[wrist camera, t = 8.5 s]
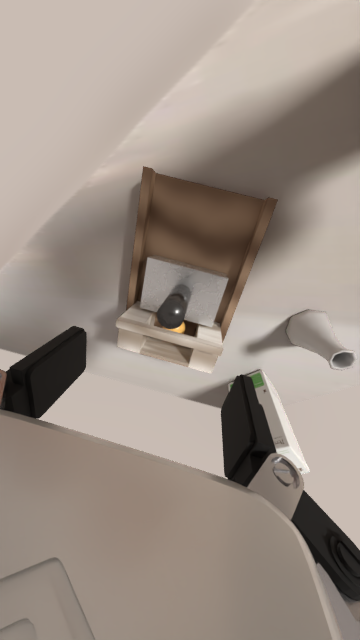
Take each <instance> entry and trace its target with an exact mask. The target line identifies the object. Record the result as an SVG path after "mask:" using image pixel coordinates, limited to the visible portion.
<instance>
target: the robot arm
mask: <svg viewBox="0 0 360 640" xmlns="http://www.w3.org/2000/svg"><path fill="white" fill-rule="evenodd" d="M85 368H86V332H84V329H83V328H79V327H76V326H72V327H71V328H69V329H68V330H66V331H65V332H63V333H62V334H60V335H58V336H57V337H55V338H54V339H52V340H51V341H49V342H48V343H46V344H45V345H43V346H42V347H40V348H39V349H37V350H35V351H34V352H32V353H31V354H29V355H28V356H26V357H25V358H23V359H22V360H20V361H19V362H17V363H15V364H14V365H12V366H11V367H10V369H9V370H8V371H6V372H5V371H3V370H1V369H0V640H360V550H359V549H358V548H357V547H356V545H355V544H354V543H353V542H352V541H351V540H350V539H349V538H348V536H346V534H345V533H344V532H343V531H342V530H341V529H340V528H339V527H338V526H337V525H336V524H335V523H334V522H333V521H332V520H331V519H330V518H329V516H328V515H327V514H326V513H325V512H324V511H323V510H322V509H321V508H320V507H319V506H318V505H317V504H316V503H315V501H314V500H313V499H312V498H311V497H310V496H309V495H308V494H307V493H306V492H305V491H304V490H303V489H304V482H303V478H302V476H301V473H300V471H299V470H298V468H297V467H296V466H295V465H294V464H293V462H292V461H291V460H289V459H288V458H287V457H285V456H283V455H281V454H278V453H277V451H276V448H275V445H274V441H273V438H272V435H271V432H270V428H269V425H268V422H267V418H266V415H265V412H264V409H263V406H262V405H261V404H259V401H258V398H257V394H256V391H255V387H254V384H253V380H252V378H251V377H249V376H246V375H242V374H241V375H240V376H237V377H236V379H235V381H234V383H233V385H232V387H231V389H230V391H229V393H228V395H227V397H226V400H225V402H224V404H223V406H222V409H221V421H222V438H223V456H224V473H225V477H227V478H228V479H225V478H223V477H219V476H216V475H213V474H211V473H207V472H205V471H202V470H199V469H196V468H192V467H189V466H187V465H183V464H180V463H177V462H174V461H171V460H168V459H165V458H161V457H158V456H155V455H152V454H149V453H146V452H143V451H139V450H136V449H133V448H130V447H126V446H123V445H120V444H116V443H113V442H110V441H107V440H104V439H101V438H97V437H94V436H91V435H88V434H84V433H81V432H78V431H75V430H71V429H68V428H64V427H61V426H58V425H55V424H52V423H48V422H45V421H42V420H38V419H36V418H40V417H41V416H42V415H43V414H44V413H45V412H46V411H47V410H48V409H49V408H50V407H51V406H52V405H53V404H54V402H55V401H56V400H57V399H58V398H59V397H60V396H61V395H62V394H63V393H64V392H65V391H66V390H67V389H68V388H69V386H70V385H71V384H72V383H73V382H74V381H75V380H76V379H77V378H78V377H79V376H80V375H81V374H82V373H83V372H84V370H85Z"/></svg>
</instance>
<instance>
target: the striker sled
mask: <svg viewBox="0 0 360 640" xmlns="http://www.w3.org/2000/svg"><path fill="white" fill-rule="evenodd" d="M228 279H229V278H228V276H227V274H225V273H221V272H218V271H214V270H210V269H206V268H203V267H199V266H195V265H191V264H187V263H184V262H180V261H176V260H172V259H168V258H165V257H161V256H157V255H153V256H150V257H148V258H147V264H146V271H145V277H144V284H143V290H142V297H141V304H140V308H143V309H147V310H150V311H154V312H157V319H158V322H159V323H160V324H161V325H162V326H163V327H165V328H167V329H175V328H178V327H179V326H181V324H182V323H183V321H184V320H187V321H190V322H194V323H198V324H201V325H205V326H209V327H212V326H213V323H214V320H215V317H216V314H217V311H218V308H219V305H220V302H221V299H222V296H223V294H224V291H225V288H226V285H227V282H228Z"/></svg>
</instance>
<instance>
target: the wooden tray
mask: <svg viewBox="0 0 360 640" xmlns="http://www.w3.org/2000/svg"><path fill="white" fill-rule="evenodd" d="M277 201H278V200H277V199H273V198H267V199H266V200H262V199H258V198H254V197H250V196H246V195H242V194H238V193H234V192H230V191H226V190H222V189H218V188H214V187H209V186H205V185H201V184H197V183H193V182H189V181H185V180H181V179H177V178H173V177H169V176H165V175H161V174H157V173H155V171H154V170H153V169H152V168H148V167H144V166H143V173H142V181H141V190H140V198H139V207H138V215H137V223H136V232H135V240H134V249H133V257H132V265H131V274H130V282H129V291H128V299H127V307H126V312H125V313H124V314H122V315H121V316H120V317H119V318H118V319H117V320H116V327H118V328H119V332H118V341H117V347H119V348H122V349H126V350H129V351H133V352H136V353H140V354H143V355H147V356H150V357H154V358H158V359H161V360H165V361H168V362H172V363H175V364H179V365H182V366H186V367H189V368H193V369H196V370H200V371H203V372H207V373H211V374H212V371H213V368H214V366H215V363H216V361H217V358H218V356H221V354H222V351H223V344H222V343H223V340H224V338H225V335H226V333H227V330H228V327H229V325H230V322H231V320H232V317H233V314H234V312H235V309H236V307H237V304H238V302H239V299H240V296H241V294H242V291H243V289H244V286H245V283H246V281H247V278H248V276H249V273H250V271H251V268H252V265H253V263H254V260H255V258H256V255H257V252H258V250H259V247H260V245H261V242H262V240H263V237H264V234H265V232H266V229H267V227H268V224H269V221H270V219H271V216H272V214H273V211H274V209H275V206H276V203H277ZM153 255H157V256H161V257H165V258H168V259H172V260H176V261H180V262H184V263H187V264H191V265H195V266H199V267H203V268H206V269H210V270H214V271H218V272H221V273H225V274H227V276H228V278H229V279H228V282H227V285H226V288H225V291H224V294H223V296H222V299H221V302H220V305H219V308H218V311H217V314H216V317H215V320H214V323H213V326H212V327H209V326H205V325H201V324H198V323H194V322H190V321H187V320H184V321H183V322H184V324H185V331H184V334H181V333H178V332H174V331H171V330H167V329H163V326H162V325H161V324H160V323H159V322H158V319H157V312H154V311H150V310H147V309H143V308H140V304H141V297H142V290H143V284H144V277H145V271H146V264H147V258H148V257H150V256H153Z"/></svg>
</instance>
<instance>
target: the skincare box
mask: <svg viewBox="0 0 360 640" xmlns="http://www.w3.org/2000/svg"><path fill="white" fill-rule="evenodd" d="M247 376H249V377H251V378H252V380H253V384H254V387H255V391H256V394H257V398H258V401H259V404H261V405H262V406H263V409H264V412H265V415H266V418H267V422H268V425H269V428H270V432H271V435H272V438H273V441H274V445H275V448H276V451H277V453H278V454H281V455H283V456H285V457H287V458H288V459H289V460H291V461H292V462H293V464H294V465H295V466H296V467H297V468H298V470H299V471H300V473H301V474H304V473H309V471H310V470H309V468H308V466H307V464H306V462H305V460H304V457H303V455H302V452H301V450H300V447H299V445H298V442H297V440H296V438H295V435H294V433H293V430H292V428H291V425H290V423H289V420H288V418H287V416H286V413H285V410H284V408H283V406H282V403H281V401H280V398H279V396H278V393H277V391H276V389H275V387H274V386H273V384H272V383H271V381H270V380H269V379H268V377H267V376H266V374H265V373H264V372H263V370H259V371H257V372H254V373H252V374H249V375H247ZM233 383H234V381H233V382H231V383H229V384H228V389H229V391H230V389H231V387H232V385H233Z"/></svg>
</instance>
